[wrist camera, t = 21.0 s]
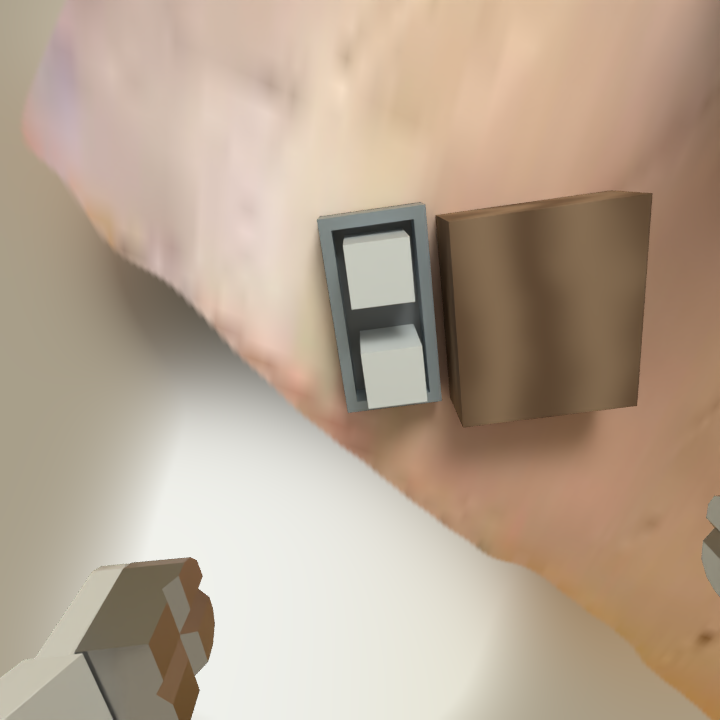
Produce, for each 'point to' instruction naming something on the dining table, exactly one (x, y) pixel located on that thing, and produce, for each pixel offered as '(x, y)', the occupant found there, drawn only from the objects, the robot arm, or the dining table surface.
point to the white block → (379, 268)
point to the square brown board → (544, 305)
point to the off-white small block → (393, 366)
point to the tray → (381, 316)
